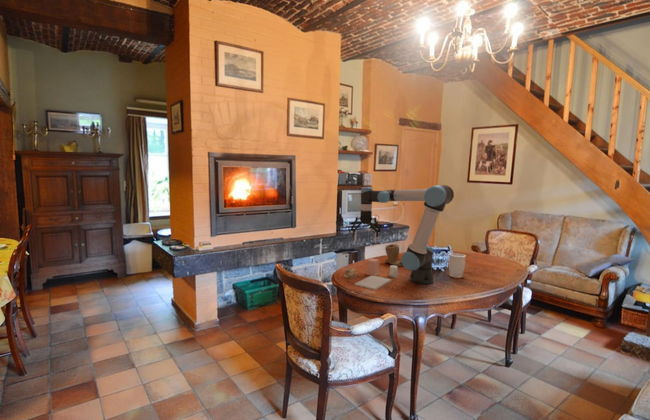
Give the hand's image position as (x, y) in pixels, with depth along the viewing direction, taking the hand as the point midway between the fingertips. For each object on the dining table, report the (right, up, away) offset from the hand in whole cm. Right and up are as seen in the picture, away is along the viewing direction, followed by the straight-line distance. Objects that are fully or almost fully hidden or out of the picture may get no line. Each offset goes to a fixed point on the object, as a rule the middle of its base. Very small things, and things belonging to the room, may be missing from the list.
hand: (365, 241), depth 245 cm
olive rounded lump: (-11, -23, -6) cm, 26 cm away
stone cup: (+25, -20, +27) cm, 42 cm away
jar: (+62, -24, +3) cm, 67 cm away
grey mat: (+3, -25, -17) cm, 30 cm away
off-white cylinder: (+18, -23, -2) cm, 30 cm away
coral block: (+5, -22, +1) cm, 23 cm away
